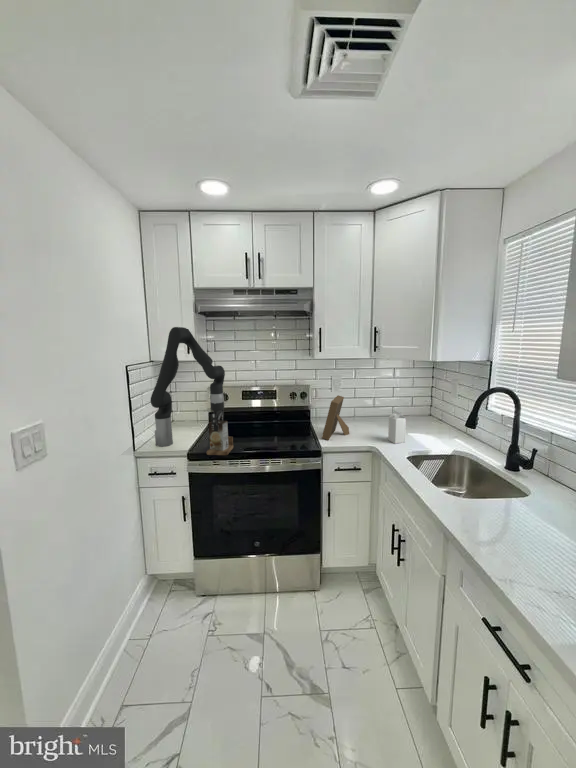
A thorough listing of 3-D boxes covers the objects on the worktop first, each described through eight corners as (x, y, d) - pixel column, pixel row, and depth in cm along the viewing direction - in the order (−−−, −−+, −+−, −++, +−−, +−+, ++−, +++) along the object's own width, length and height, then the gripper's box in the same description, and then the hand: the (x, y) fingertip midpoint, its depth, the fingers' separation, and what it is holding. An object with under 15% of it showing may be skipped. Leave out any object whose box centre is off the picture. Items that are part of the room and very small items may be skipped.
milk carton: (397, 439, 203) (398, 409, 200) (405, 442, 197) (406, 412, 194) (388, 440, 201) (388, 410, 198) (395, 444, 194) (396, 413, 192)
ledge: (206, 454, 183) (206, 442, 182) (213, 447, 195) (213, 436, 194) (227, 455, 182) (226, 443, 181) (233, 447, 194) (232, 436, 193)
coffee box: (209, 449, 186) (207, 422, 183) (215, 445, 192) (213, 419, 189) (223, 451, 183) (222, 423, 180) (229, 447, 189) (227, 420, 186)
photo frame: (321, 439, 205) (322, 400, 201) (329, 430, 225) (329, 394, 222) (345, 442, 200) (346, 402, 197) (350, 432, 221) (351, 396, 217)
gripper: (214, 398, 190) (216, 425, 193) (206, 403, 176) (207, 432, 179) (227, 398, 190) (228, 425, 192) (219, 403, 176) (220, 432, 178)
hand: (218, 428), depth 185 cm, fingers open, 8 cm apart
